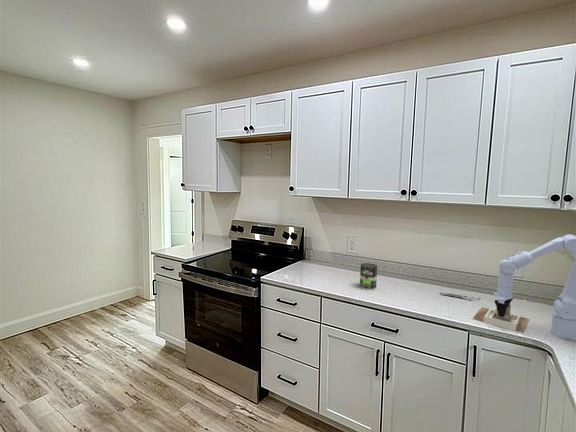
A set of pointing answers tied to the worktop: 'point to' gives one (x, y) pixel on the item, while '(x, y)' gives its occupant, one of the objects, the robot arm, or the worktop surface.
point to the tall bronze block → (507, 314)
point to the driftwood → (457, 296)
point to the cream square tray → (502, 320)
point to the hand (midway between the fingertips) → (502, 314)
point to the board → (480, 317)
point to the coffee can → (368, 276)
